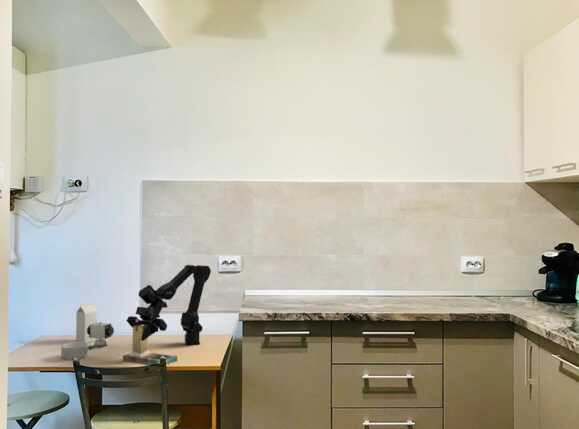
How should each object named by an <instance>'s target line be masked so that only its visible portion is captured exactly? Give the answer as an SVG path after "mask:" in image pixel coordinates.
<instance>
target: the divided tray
mask: <svg viewBox="0 0 579 429" xmlns="http://www.w3.org/2000/svg"><path fill="white" fill-rule="evenodd" d="M161 356H164V357H166V360H167V364H168V365H170V364H169V363H171V362H173V363H175V362H177V361H178V356H177V355H171V354H165V353H164V354H162V353H156V352H152V351H151V350H146V351H144V352H141V353H140V352H133V351H132V352H129V353H127V354H125V355H122V361H124V362H132V363H139V364H145V365H146V364H147V365H152V364H157V363H159V362H160V357H161ZM174 361H175V362H174ZM171 364H172V363H171Z"/></svg>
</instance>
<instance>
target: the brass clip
mask: <svg viewBox="0 0 579 429" xmlns="http://www.w3.org/2000/svg"><path fill="white" fill-rule="evenodd" d="M146 329H147V325H141V324H139V325H136V326H133V328H132V352H140V353H141V352H144V351H148V338H146V339H145V340H144V341H142V337H143V335H144V333H145V331H146Z"/></svg>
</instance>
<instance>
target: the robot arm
mask: <svg viewBox="0 0 579 429" xmlns="http://www.w3.org/2000/svg"><path fill="white" fill-rule="evenodd" d="M211 272H212V270H211V268H210V266H208V265H202V264H200V265H199V264H197V265H194V264H187V265H184V267H183V268H182V269H181V270H180V271H179V272H178V273H177V274H176V275H175V276H174V277H173V278H172V279H171V280H170V281H169V282H167V283H164V284H162V285H161V286H159V287H158V288H157V289H156V290H155V289H154V288H153V286H152V285H151V284H150V285H149V284H147V285H146V286H145V287H143V288H142V289H140V290H139V291H138V296H139V298H140V299H141V300H142V301H143V302H144V303H145V304H147V305H148V306H147V307H145V306H137V308H136V309H135V310H136V311H135V315H137V316H139V317H137V316H133V315H130V316H129V315H128V317H127V319H126V322H127V323H128V325H129V326H130V327H131V328H132V329H133V326H136V325H139V324H141V325H142V326H143V325H147V329H146V331H145V333H144V335H143V337H142V341H144V340H145V339H146V338H147V339H148V338H150V336H152V335H153V334H155V333H157V332H160V331H161V332H165V331H166V330H167V328H168V324H167V322H165V320H164V319H163V318H160V317H161V315H160V313H161V312H162V309H163V308H165V309H167V308H168V304H167V302H166V301H164V300H167V301H170V300H172V299H173V298H174V296H175V295H176V294H177V290H178V289H179V287H180V286H181V285H182V284H183V283H185V281H187V280H188V278H190V276H192V277H193V281H194V284H193V286H192V291H191V295H190V298H189V303H188V308H187V310H186V311H185V312H182V313H181V318H180V319H179V320H180V325H181V327H182V330H183V331H184V332H185V334H184V343H185V345H186V346H193V345H195V346H196V345H200V344H201V342H200V333H202V331H203V326H202V325H201V323H200V316H199V313H198V312H199V307H200V303H201V299H202V294H203V290H204V286H205V283H206V282H207V281H208V280H209V278H210V275H211ZM139 318H140V319H139Z"/></svg>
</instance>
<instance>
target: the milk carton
mask: <svg viewBox="0 0 579 429" xmlns="http://www.w3.org/2000/svg"><path fill="white" fill-rule="evenodd" d="M75 318H76V321H75V322H76V324H75V325H76V326H75V329H76V331H75V333H76V335H75V342H87V343H91V342H95V341H96V340H98V339H96V338H89V335H88V334H87V328H88V327H89V325H91V324H94V323H98V310H97V309H96V307H95V305H94V302H89V303H82V304H80V307H79V308H78V309H77V310H76V316H75Z"/></svg>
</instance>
